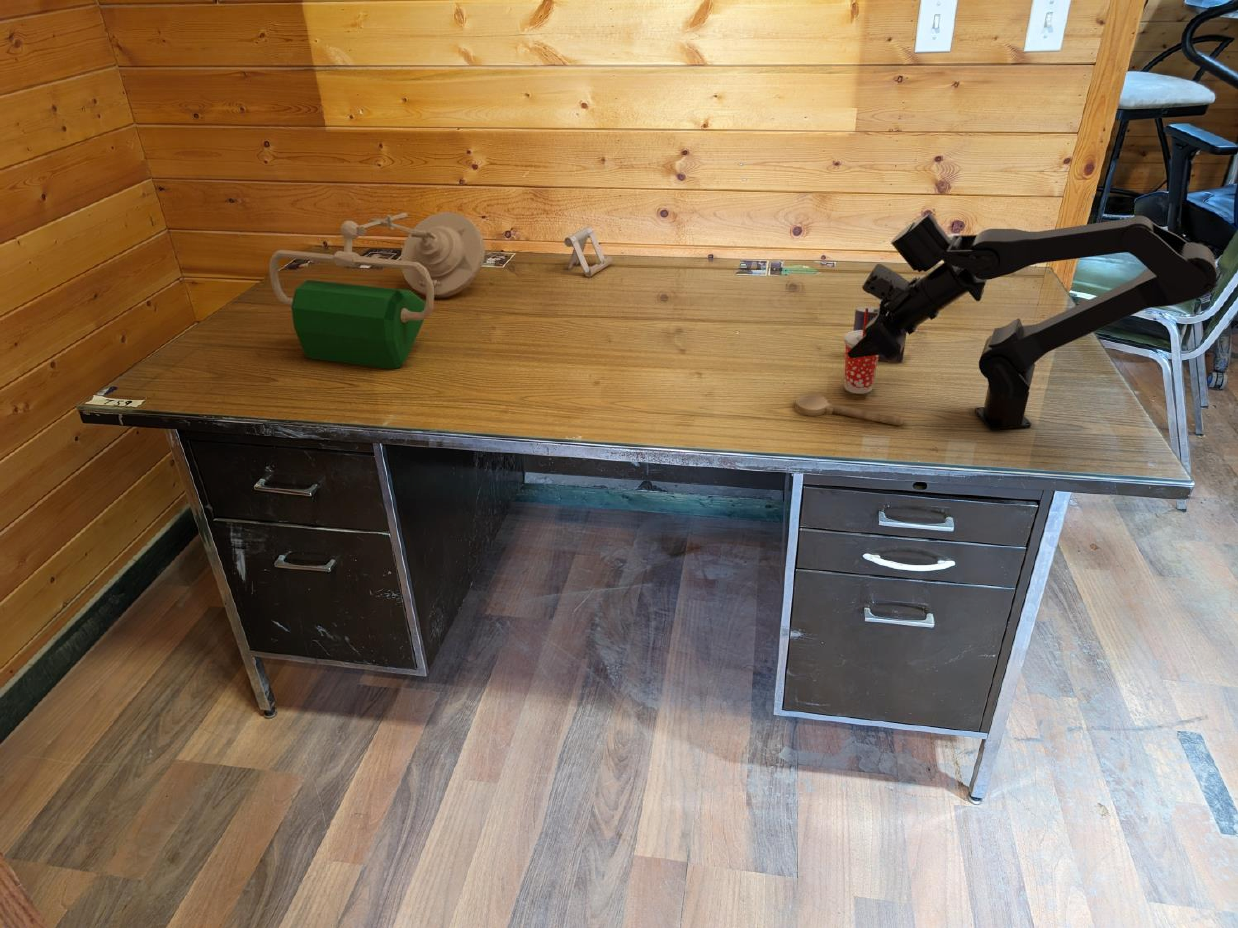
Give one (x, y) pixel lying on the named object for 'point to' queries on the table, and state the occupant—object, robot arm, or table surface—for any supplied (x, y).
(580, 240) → the tablet stand
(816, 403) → the spoon
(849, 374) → the beverage cup
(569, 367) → the table surface
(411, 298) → the banker's lamp
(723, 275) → the table surface
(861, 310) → the flask
